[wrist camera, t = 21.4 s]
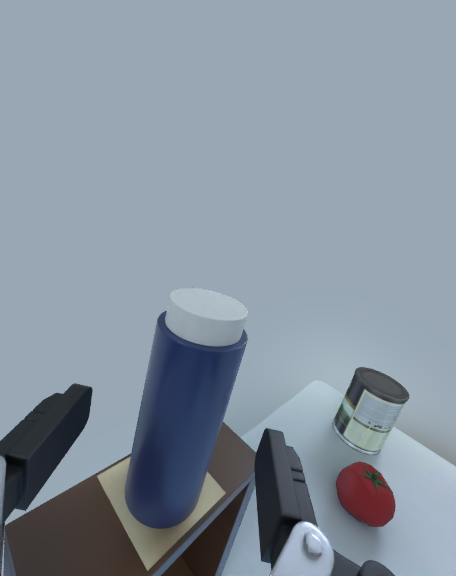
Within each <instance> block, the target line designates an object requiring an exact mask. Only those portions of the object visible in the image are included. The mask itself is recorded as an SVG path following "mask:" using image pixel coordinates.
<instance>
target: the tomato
mask: <svg viewBox="0 0 456 576" xmlns="http://www.w3.org/2000/svg"><path fill="white" fill-rule="evenodd" d="M336 487H337V493H338V498H339V500H340V502H341V504H342V506H343V507H344V508H345V509H346V510H347V511H348V512H349V513H350V514H352V515H353V516H355V517H356V518H357V519H358V520H359V521H361V522H364V523H366V524H368V525H369V526H373V527H381V526H384V525H385V524H387V523H388V522H389V521H390V520H391V519H392V518H393V516H394V512H395V500H394V496H393V492H392V490H391V489H390V487H389V486H388V484H387V483H386V481H385V479H384V478H383V476H382V475H381V473H380V472H378V471H377V470H376V469H375V468H374V467H372V466H371V465H369V464H366V463H363V462H357V463H353V464H352V465H350V466H348V467H346V468H344V469H343V470H342V471H341V472H340V473H339V476H338V478H337V482H336Z"/></svg>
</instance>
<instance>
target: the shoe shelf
mask: <svg viewBox="0 0 456 576" xmlns="http://www.w3.org/2000/svg"><path fill="white" fill-rule="evenodd" d="M255 456H256V452H255V451H254V450H253V449H251V448H250V447H249V446H248V445H247V444H246V443H245V442H244V441H243V440H242V439H241V438H240V437H239V436H237V434H235V433H234V432H233V431H232V430H231V429H230V428H229V427H228V426H227V425H226V424H225V423H224V422H222V425H221V429H220V432H219V435H218V438H217V442H216V445H215V448H214V451H213V455H212V458H211V461H210V464H209V468H208V471H207V474H206V478H205V481H204V484H203V487H202V491H201V494H200V497H199V500H198V503H197V505H196V507H195V509H194V511H193V512H192V513H191V514H190V516H189V517H188V518H187V519H185V520H184V521H183V522H181V523H180V524H178V525H176V526H173V527H170V528H165V529H157V528H151V527H148V526H145V525H143V524H142V523H140V522H139V521H137V520H136V519H135V518H134V517H133V515H132V514H131V513H130V511H129V509H128V507H127V504H126V501H125V493H124V492H125V483H126V478H127V473H128V468H129V463H130V458H131V454H129V455H128V456H126V457H124V458H122V459H121V460H119V461H117V462H115V463H114V464H112V465H110V466H108V467H107V468H105V469H103V470H101V471H100V472H98V473H96V474H94V475H93V476H91V477H89V478H87V479H86V480H84V481H82V482H80V483H79V484H77V485H75V486H73V487H72V488H70V489H68V490H66V491H65V492H63V493H61V494H59V495H58V496H56V497H54V498H52V499H50V500H49V501H47V502H45V503H43V504H42V505H40V506H38V507H37V508H35V509H33V510H31V511H29V512H28V513H26V514H24V515H22V516H21V517H19V518H17V519H16V520H14V521H12V522H10V523H9V524H7V525H6V526H5V536H4V540H5V542H4V576H221V574H222V571H223V568H224V566H225V563H226V560H227V558H228V555H229V553H230V550H231V547H232V545H233V542H234V539H235V537H236V534H237V531H238V529H239V526H240V524H241V521H242V518H243V516H244V513H245V510H246V508H247V505H248V502H249V500H250V497H251V495H252V492H253V489H254V487H255V471H254V463H255Z"/></svg>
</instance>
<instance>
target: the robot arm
mask: <svg viewBox="0 0 456 576" xmlns="http://www.w3.org/2000/svg"><path fill="white" fill-rule="evenodd" d="M91 397H92V388H91V387H88V386H84V385H80V384H76V383H75V384H73V385H71V386H70V388H69V389H68V390H67V391H66V392H65V393H64V394H60V393H55V394H53V395H52V396H50V397H48V398H46V399H44V400H43V401H42V402H41V403H40V404H39V405H38V406H36V407H35V408H34V409H33V411H31V412H30V413H29V414H28V415H27V416H26V417H25V419H24V420H22V421H21V422H20V423H19V424H18V425H17V426H16V427H15V428H14V429H13V430H12V431H11V432H10V433H8V434H7V435H6V436H5V437H4V438H3V439H2V440H1V441H0V576H1V569H2V555H3V540H4V526H5V520H6V519H7V518H8V516H9V515H10V514H11V512H12V511H13V510H14V508H15V509H20V510H25V511H26V509H27V508H28V507H29V505H30V503H31V502H32V501H33V499H34V498H35V496H36V495H37V494H38V492H39V491H40V489H41V488H42V487H43V485H44V484H45V483H46V481H47V480H48V478H49V477H50V476H51V474H52V473H53V471H54V470H55V469H56V467H57V466H58V464H59V463H60V461H61V460H62V459H63V457H64V456H65V454H66V453H67V452H68V450H69V449H70V447H71V446H72V445H73V443H74V441H75V440H76V439H77V437H78V436H79V435H80V433H81V432H82V430H83V429H84V427H85V425H86V423H87V421H88V418H89V413H90V405H91ZM254 471H255V485H256V498H257V511H258V525H259V538H260V551H261V561H263V562H267V563H271V570H272V571H271V573H270V575H269V576H395V575H394V574H393V573H392V572H391V571H390V570H389V569H387V568H386V567H385V566H384V565H382V564H380V563H379V562H376V561H372V560H368V561H366V562H365V563H363V565H362V567H360V566H358V565H357V564H355V563H353V562H352V561H350V560H348V559H347V558H345V557H343V556H342V555H340V554H339V553H337V552H336V551H335V550H334V549H333V548H332V546H331V544H330V542H329V540H328V538H327V537H326V535H325V534H324V533H323V531H322V530H321V529H320V528H318V525H317V522H316V518H315V515H314V511H313V507H312V503H311V500H310V496H309V492H308V488H307V484H306V483H305V477H304V473H303V469H302V466H301V462H300V458H299V457H298V455H297V454H296V452H295V450H294V449H293V447H289V446H286V444H285V439H284V435H283V432H281V431H277V430H272V429H268V428H266V429H265V430H264V433H263V436H262V438H261V441H260V444H259V447H258V450H257V452H256V456H255V463H254Z"/></svg>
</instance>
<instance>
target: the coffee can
mask: <svg viewBox="0 0 456 576" xmlns="http://www.w3.org/2000/svg"><path fill="white" fill-rule="evenodd" d="M408 399H409V394H408V392H407V390H406V389H405V388H404V387H403V386H402V385H401V384H400V383H398V382H397V381H395V380H394V379H392V378H391V377H389V376H387V375H385V374H383V373H381V372H379V371H376V370H373V369H369V368H364V367H360V368H357V369H356V370H355V374H354V376H353V379H352V381H351V383H350V385H349V388H348V390H347V392H346V394H345V397H344V399H343V401H342V403H341V406H340V408H339V410H338V412H337V415H336V417H335V418H334V420H333V426H334V429H335V431H336V433H337V434H338V435H339V437H340V438H341V439H342V440H343V441H344V442H345V443H347V444H348V445H349V446H351V447H352V448H354V449H356V450H357V451H359V452H362V453H365V454H369V455H375V454H378V453H379V452H380V451H381V448H382V446H383V444H384V442H385V440H386V438H387V436H388V434H389V432H390V430H391V429H392V427H393V425H394V423H395V421H396V419H397V417H398V416H399V414H400V412H401V410H402V408H403V406H404V404H405V402H406V401H407V400H408Z"/></svg>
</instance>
